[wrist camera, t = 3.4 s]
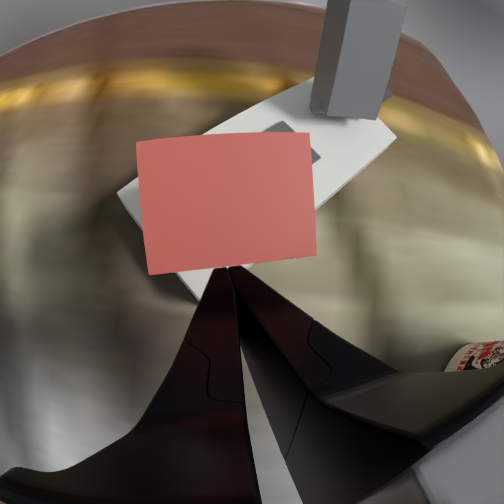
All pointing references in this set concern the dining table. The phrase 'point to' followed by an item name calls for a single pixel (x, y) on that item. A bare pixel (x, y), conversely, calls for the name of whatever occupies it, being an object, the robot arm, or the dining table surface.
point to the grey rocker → (356, 57)
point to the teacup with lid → (477, 356)
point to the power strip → (322, 151)
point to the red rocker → (226, 200)
